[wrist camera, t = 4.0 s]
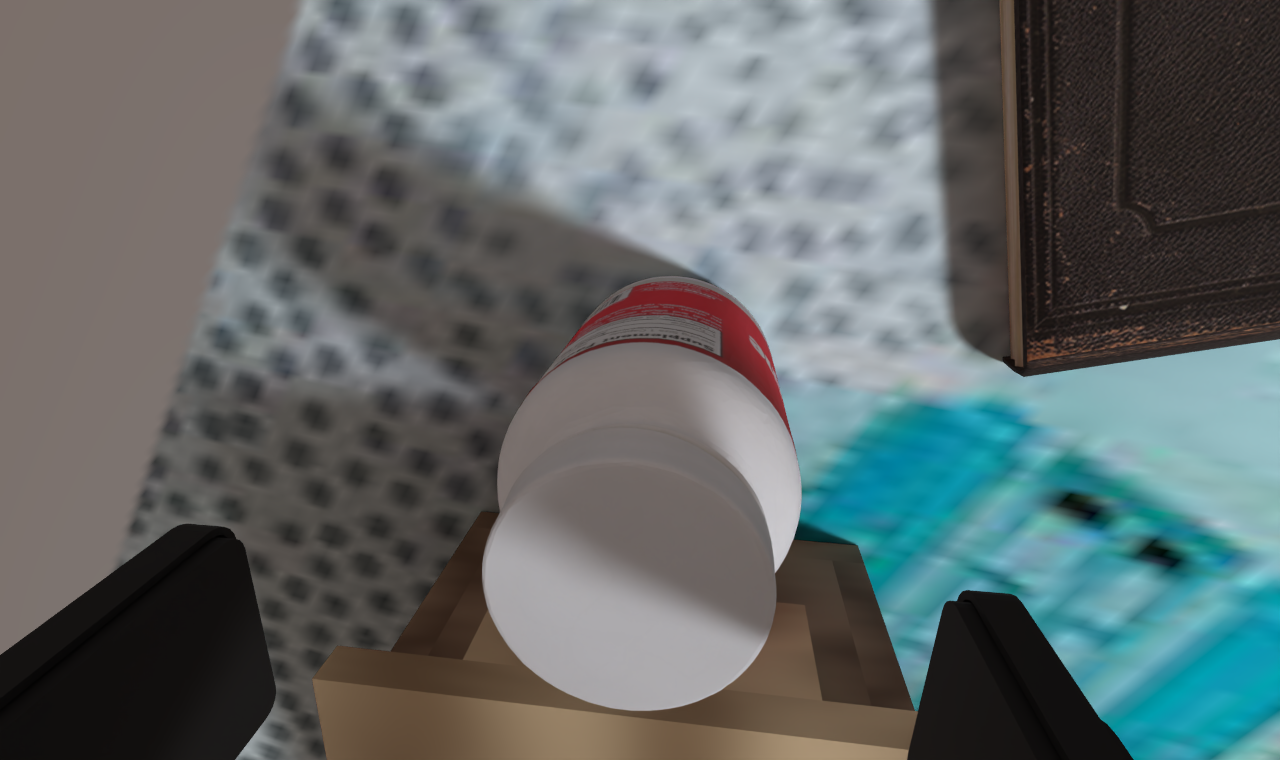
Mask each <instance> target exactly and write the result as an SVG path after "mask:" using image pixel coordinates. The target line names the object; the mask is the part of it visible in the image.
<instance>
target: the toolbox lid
mask: <svg viewBox="0 0 1280 760" xmlns="http://www.w3.org/2000/svg"><path fill="white" fill-rule="evenodd" d="M312 681H313V687H314V692H315V698H316V703H317V708H318V714H319V719H320V725H321V730H322V736H323V741H324V747H325V752H326V757H327V760H907V757H908V751H909V747H910V743H911V739H912V734H913V730H914V726H915V722H916V718H917V714H918V711H909V710H901V709H892V708H883V707H874V706H865V705H856V704H848V703H839V702H830V701H822V696H821V690H820V685H819V680H818V674H817V669H816V663H815V658H814V653H813V647H812V642H811V636H810V631H809V626H808V620H807V615H806V610H805V605H799V604H789V603H779V602H776V609H775V614H774V618H773V623H772V626H771V630H770V632H769V635H768V638H767V640H766V642H765V644H764V646H763V647H762V649H761V651H760V652H759V654H758V656H757V657H756V658H755V660H754V661H753V662H752V663H751V665H750V666H749V667H748V668H747V669H746V670H745V671H744V672H743V673H742V674H741V675H740V676H739V677H738V678H737V679H736V680H734V681H733V682H732V683H730V684H729V685H727V686H726V687H725V688H723V689H722V690H721V691H719V692H717V693H715V694H713V695H711V696H708V697H706V698H704V699H702V700H699V701H697V702H694V703H691V704H688V705H684V706H680V707H675V708H670V709H663V710H652V711H631V710H622V709H614V708H608V707H605V706H601V705H597V704H593V703H590V702H587V701H584V700H582V699H579V698H577V697H574V696H572V695H569V694H567V693H565V692H564V691H562V690H560V689H558V688H556V687H554V686H553V685H551V684H549V683H548V682H546V681H545V680H543V679H542V678H541V677H539V676H538V675H537V674H535V673H534V672H533V671H532V670H531V669H529V668H528V667H527V666H526V665H525V664H523V663H522V662H521V660H520V659H519V658H518V657H517V656H516V655H515V653H514V652H513V651H512V650H511V649H510V648H509V646H508V645H507V643H506V642H505V640H504V639H503V637H502V636H501V634H500V633H499V631H498V629H497V627H496V625H495V624H494V622H493V620H492V617H491V615H490V613H489V610H487V612H486V614H485V616H484V618H483V620H482V622H481V624H480V626H479V628H478V630H477V632H476V634H475V636H474V638H473V640H472V642H471V644H470V646H469V648H468V650H467V652H466V654H465V656H464V658H463V660H460V659H451V658H442V657H433V656H425V655H416V654H407V653H398V652H389V651H381V650H372V649H363V648H354V647H345V646H337V647H336V648H335V649H334V651H333V652H332V653H331V655H330V656H329V657H328V659H327V660H326V661H325V663H324V664H323V665H322V666H321V668H320V669H319V670H318V672H317V673H316V674H315V676H314V677H313V678H312Z"/></svg>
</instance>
